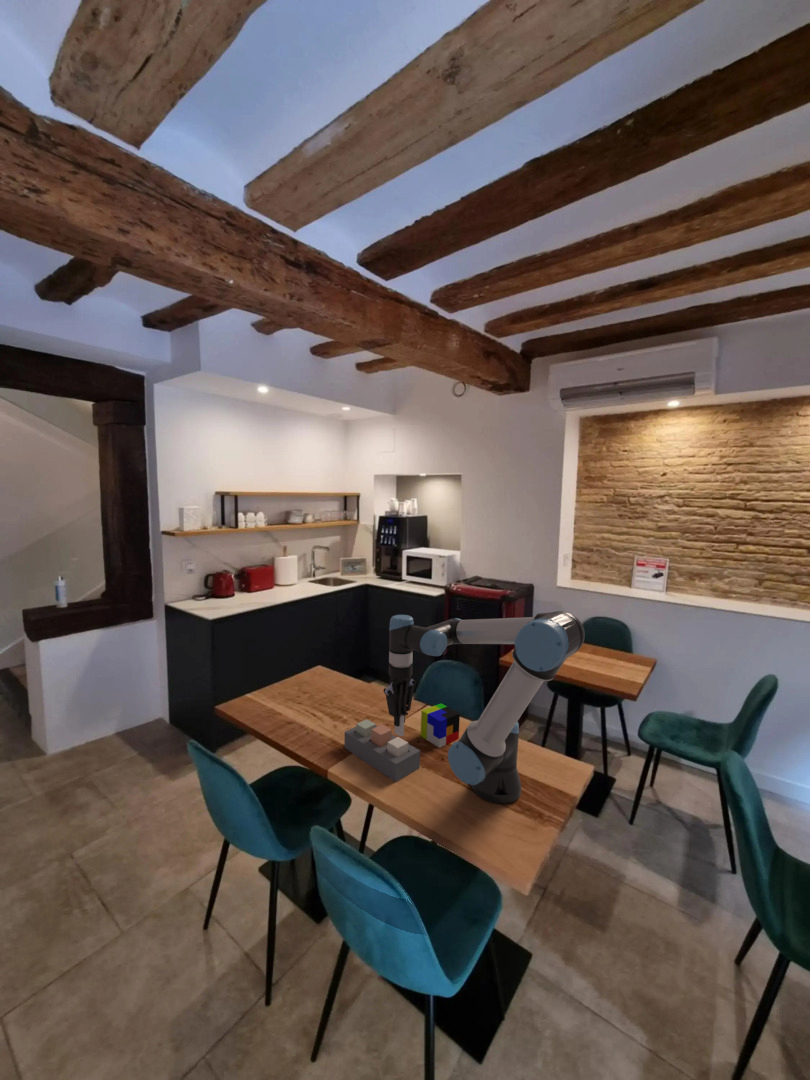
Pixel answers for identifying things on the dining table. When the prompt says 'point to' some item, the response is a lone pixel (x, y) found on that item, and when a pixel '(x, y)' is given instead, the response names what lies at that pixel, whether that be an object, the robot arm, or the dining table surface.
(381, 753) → the console
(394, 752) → the key ivory
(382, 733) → the key terracotta
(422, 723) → the puzzle toy
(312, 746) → the dining table surface
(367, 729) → the key sage
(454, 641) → the robot arm
